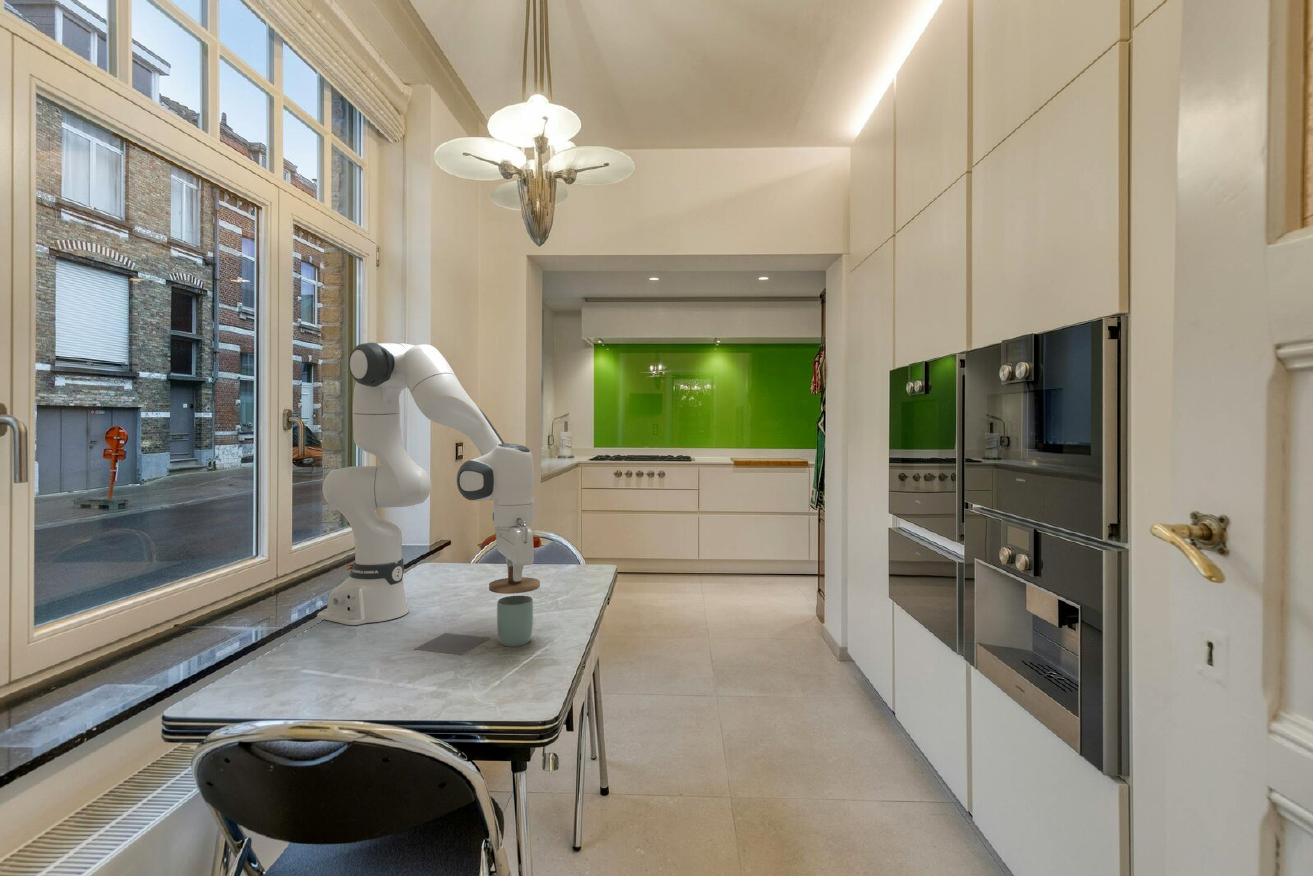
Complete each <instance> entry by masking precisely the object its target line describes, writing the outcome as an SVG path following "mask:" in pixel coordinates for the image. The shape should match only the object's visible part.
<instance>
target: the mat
mask: <svg viewBox="0 0 1313 876" xmlns="http://www.w3.org/2000/svg"><path fill="white" fill-rule="evenodd" d="M490 639H491V637H486V636H481V635H480V636H478V635H468V634H459V633H448V632H444V633H443V634H440V635H438V636H437V637H434V638H433V639H431V640H428V641H426V642H425V643H423V644H420V645H419V646H417V647H415V648H413V650H414V651H422V652H423V651H424V652H432V653H439V654H441V653H442V654H449V655H456V656H457V655H458V656H463V655H464V654H466V653H467V652H469V651H471V650H473V649H474V648H476V647H478V646H480V644H483V643H484V642H486V641H488V640H490Z"/></svg>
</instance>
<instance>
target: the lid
mask: <svg viewBox="0 0 1313 876" xmlns="http://www.w3.org/2000/svg"><path fill="white" fill-rule="evenodd" d="M512 572H513V566H510V567H508V568H507V576H508V577H507V578H500V579H495V580H493V581H491V582H490V583H488V590H489V591H490V592H492V593H496V594H507V595H509V594H510V595H511V594H512V595H513V594H522V593H523V594H524V593H528V592H533V591H535V590H538V589H539V588H540V587H541V580H540V579H538V578H534V577H528V576H527V577H525V576H522V580H521V581H516V582H515V581H514V580H513V579H512Z"/></svg>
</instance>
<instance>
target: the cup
mask: <svg viewBox="0 0 1313 876" xmlns="http://www.w3.org/2000/svg"><path fill="white" fill-rule="evenodd" d="M533 626H534V599H533V598H532V597H531V596H528V595H509V596H504V597H502V598H499V599H498V600H497V602H496V627H497V628H496V629H497V635H498V640H499V642H500V644H502V645H503V646H504V647H511V648H514V647H522V646H525V645H527V644H528V643H529V642H530V640H531V638H532V635H533V629H534V628H533Z"/></svg>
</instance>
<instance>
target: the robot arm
mask: <svg viewBox="0 0 1313 876" xmlns="http://www.w3.org/2000/svg"><path fill="white" fill-rule="evenodd" d="M348 358H349V359H348V370H349V372H350V375H351V377H352V378H353V380H354V381H355V383H354V389H353V394H352V395H353V397H352V428H353V429H352V430H353V431H352V435H353V442H354V444H355V445H356V446H357V448H359V450H362V451H364V452H366V453H368V454H370V455H373V456H374V457H376V458H377V459H378V461H379V464H380V465H369V466H368V465H365V466H363V465H361V466H360V465H359V466H356V465H355V466H346V467H341V468H336V469H332V470H331V471H330V472H329V473H328V474H327V475H326V476H325V478H324V480H323V483H322V488H321V489H322V495H323V497H324V500H325V501H326V503H327V504H328V505H329V506H330V507H332V508H334V509H335V510H337V511H338V512H339V513H341V514H342V515H343V516H344V518H345V519H346V520H347V522H348V523H349V526H350V527H351V531H352V533H353V541H354V555H355V556H354V557H355V558H354V559H355V561H354V562H353V563H352V564H348V565H346V567H347V568H346V571H349V570H350V573H349V577H347V578H346V579H345V580H344V581H343V582H342V583H340V584H339V585H338V586H336V587H335V588H334V589H333V590H332V591H330V594H329V596H328V600H327V608H325V609H323V610H322V611H319V612H318V613H317V615H316V618H317V619H322V620H325V621H330V622H334V623H339V624H342V625H346V626H347V625H349V626H357V625H362V624H368V623H369V624H370V623H379V622H385V621H389V620H394V619H397V618H401V617H403V616H405V615H407V613H408V614H409V611H410V609H409V607H408V602H407V598H406V594H405V593H406V592H405V586H404V585H405V584H404V579H403V578H404V577H403V576H404V572H405V566H404V565H405V563H404V561H405V560H404V558H402V557H403V549H402V548H403V545H402V544H403V543H402V540H403V538H402V537H403V534H402V531H401V529H400V528H399V525H396V523H395V524H394V523H393V522H391V521H389V520H386V519H383V518H381V516H379V514H378V512H377V509H381V508H407V507H410V506H415V505H420V504H422V503H424V502H425V501H426V500H427V499H428V497H429V496H430V493H431V490H432V480H431V477H430V475H429V473H428V472H427V471H426V469H424V468H423V467H421V466H420V465H418V464H417V463H416V462H415V461H414V460H413V459H412V458H411V457H410V456H409V454H408V453H407V451H406V448H405V446H404V443H403V438H402V437H403V436H402V430H401V429H402V428H401V411H400V409H401V407H400V395H401V392H402V391H403V390H404V389H406V388H407V389H408V390H409V392H410V394H411V396H412V398H413V400H414V403H415V404H416V406H417V408H418V409H419V411H420V412H421V413H422V415H423V416H425V418H427V419H428V420H430V421H432V422H434V423H435V424H439V425H442V426H446V427H448V428H450V429H454V430H455V431H458V432H460V433H462V434H464V435H465V436H467V437H468V438H469V439H470V440H471V442H472V443H473V445H474V446H475V448H476V449H477V450H478V452H479V454H480V455H481V456H479V457H476V458H473V459H470V460H467V461H464V462H463V463H462V464H461V466H460V467H459V469H458V471H457V475H456V486H457V490H458V491H459V493H460V494H461V495H462V497H463V498H465V499H466V500H468V501H474V502H482V501H492V500H493V512H492V521H493V525H494V526H495V527H494V528H495V541H496V548H497V551H498V552H499V553H500V554H501V555H502V556H504V557H505V562H506V566H507V569H508V567H510V566H513V572H512V579H513V580H514V581H515V582H516V581H521V580H522V577H523V570H524V566H531V565H533V564H534V561H535V554H534V553H535V552H534V550H535V549H534V536H533V535H534V534H533V531H532V529H531V528H530V526H531V525H534V524H535V519H536V518H535V498H534V494H533V492H534V487H535V466H534V459H533V454H532V452H531V449H530V448H528V447H527V446H526V445H525V446H524V445H520V444H517V443H505V442H504V441H503V439H502V437H501V435H500V434H499V433H498V431H497V429H496V428H495V426H494V425H493V424H492V422H491V421H490V419H489V418H488V416H487V415H486V414H485V413H484V412H483V411H482V409H481V408H480V407H479V406H478V405H477V404H476V402H475V401H473V400H472V398H471V397H470V395H469V394H468V393H467V392H466V390H465V389H464V387H463V385H462V384H461V382H460V381H459V379H458V377H457V375H456V374H455V372H454V370H453V369H452V366H451V365H450V364H449V362H448V361H447V360H446V358H445V357H444V355H442V353H441V352H440V351H439V350H438V349H437V348H436V347H435V346H433V345H431V344H426V343H425V344H422V343H421V344H417V345H416V344H415V345H414V344H409V343H404V342H403V343H401V342H393V343H392V342H382V343H379V342H378V343H377V342H365V343H360V344H357V345H356V346H355V347H354V348H353V349H352V351H351V353H350V355H349V357H348Z"/></svg>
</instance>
